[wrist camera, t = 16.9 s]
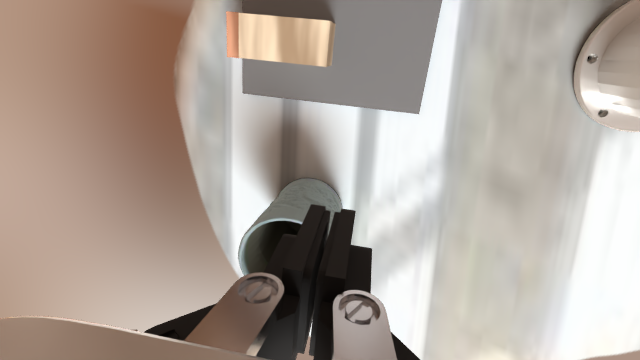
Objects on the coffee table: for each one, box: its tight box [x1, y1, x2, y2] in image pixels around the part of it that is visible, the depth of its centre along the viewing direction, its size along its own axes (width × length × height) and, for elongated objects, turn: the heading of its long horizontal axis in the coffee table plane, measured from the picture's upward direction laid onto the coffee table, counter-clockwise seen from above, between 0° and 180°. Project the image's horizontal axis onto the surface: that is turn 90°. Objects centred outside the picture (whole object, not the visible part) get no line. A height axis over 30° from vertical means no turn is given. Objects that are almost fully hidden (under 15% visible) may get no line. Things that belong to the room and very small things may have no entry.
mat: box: [243, 0, 442, 114], centre depth 35 cm, size 20×12×1 cm, turn 85°
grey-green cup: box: [238, 178, 342, 276], centre depth 37 cm, size 10×10×12 cm
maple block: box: [226, 11, 336, 67], centre depth 33 cm, size 4×4×10 cm
